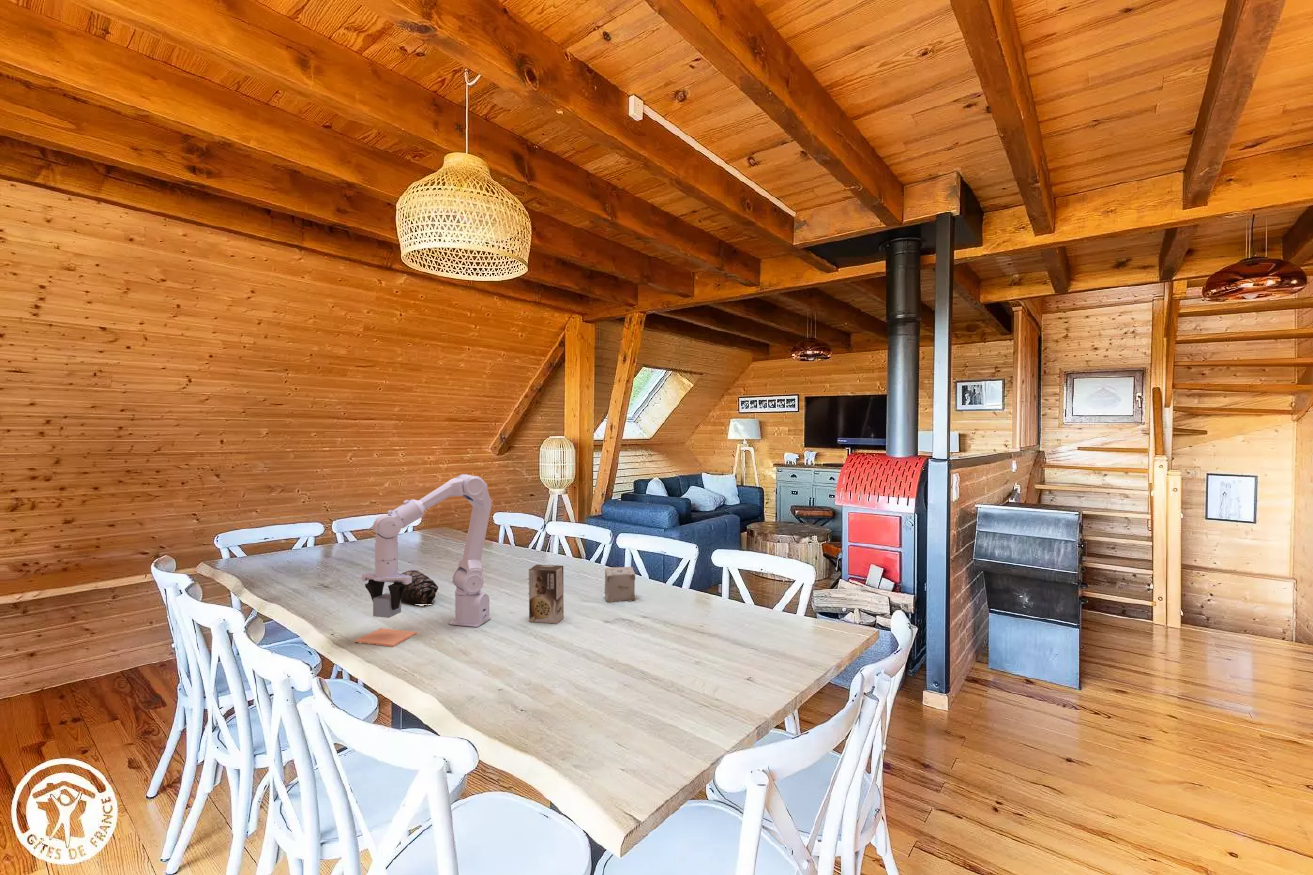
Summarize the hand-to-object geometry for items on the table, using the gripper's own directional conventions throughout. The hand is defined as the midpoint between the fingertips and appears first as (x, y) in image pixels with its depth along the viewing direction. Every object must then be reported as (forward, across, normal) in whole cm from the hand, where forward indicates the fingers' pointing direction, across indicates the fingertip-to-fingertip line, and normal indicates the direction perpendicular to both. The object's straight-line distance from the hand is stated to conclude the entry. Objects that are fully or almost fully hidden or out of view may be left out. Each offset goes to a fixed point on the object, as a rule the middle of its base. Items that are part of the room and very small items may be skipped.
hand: (386, 608), depth 162 cm
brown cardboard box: (+9, +51, +52) cm, 73 cm away
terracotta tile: (+8, 0, 0) cm, 8 cm away
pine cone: (+9, -13, +32) cm, 36 cm away
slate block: (+2, 0, 0) cm, 2 cm away
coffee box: (+9, +36, +26) cm, 45 cm away
